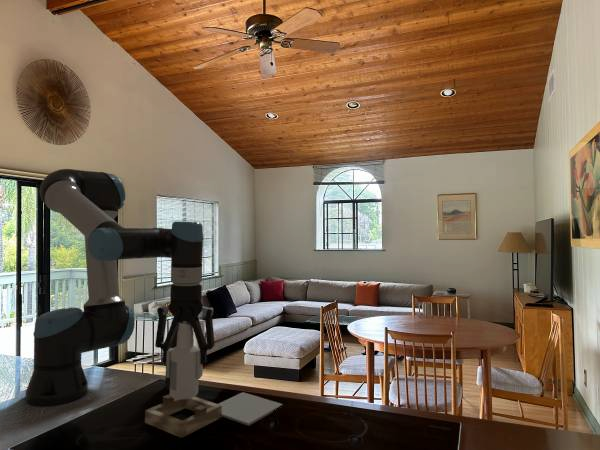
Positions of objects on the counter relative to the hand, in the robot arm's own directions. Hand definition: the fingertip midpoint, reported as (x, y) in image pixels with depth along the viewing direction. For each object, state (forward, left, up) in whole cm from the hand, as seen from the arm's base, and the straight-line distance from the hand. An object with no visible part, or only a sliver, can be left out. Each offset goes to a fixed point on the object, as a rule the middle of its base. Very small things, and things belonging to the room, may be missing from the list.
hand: (184, 376), depth 109 cm
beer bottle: (-18, +14, -11) cm, 25 cm away
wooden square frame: (0, 0, -11) cm, 11 cm away
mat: (+8, +14, -11) cm, 19 cm away
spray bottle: (0, 0, -5) cm, 5 cm away
